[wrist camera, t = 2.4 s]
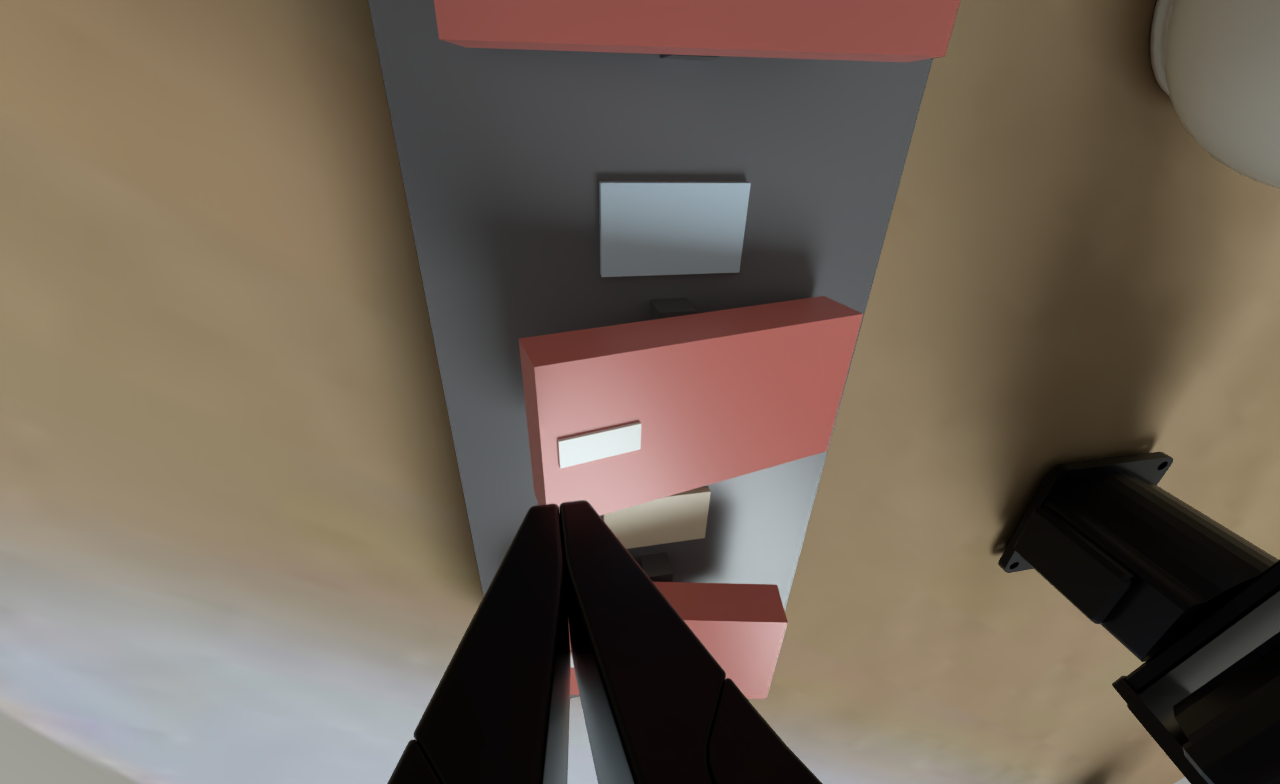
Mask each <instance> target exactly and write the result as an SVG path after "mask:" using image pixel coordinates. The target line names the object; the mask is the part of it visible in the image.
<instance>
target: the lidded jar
mask: <svg viewBox="0 0 1280 784" xmlns="http://www.w3.org/2000/svg"><path fill="white" fill-rule="evenodd" d="M1150 56H1151V66H1152V69H1153V72H1154V76H1155V79H1156V81H1157V82H1158V84H1159V86H1160V88H1161V89H1162V90H1163V91H1164V92H1165V93H1166V94H1167V95H1168V96H1169V97H1170V98H1171V101H1172V105H1173V107H1174V109H1175V111H1176V113H1177V115H1178V117H1179V119H1180V120H1181V122H1182V124H1183V125H1184V127H1185V129H1186V131H1187V132H1188V134H1189V135H1190V136H1191V137H1192V138H1193V139H1194V140H1195V141H1196V142H1197V143H1198V144H1199V145H1200V146H1201V147H1202V148H1203V149H1204V150H1205V151H1207V152H1208V153H1209V154H1210V155H1211V156H1212V157H1213V158H1214V159H1216V160H1217V161H1219V162H1221V163H1222V164H1224V165H1226V166H1227V167H1229V168H1231V169H1232V170H1234V171H1236V172H1237V173H1240V174H1242V175H1244V176H1246V177H1248V178H1250V179H1253V180H1255V181H1258V182H1261V183H1263V184H1266V185H1269V186H1272V187H1274V188H1277V189H1280V0H1157V3H1156V6H1155V10H1154V15H1153V21H1152V26H1151V35H1150Z"/></svg>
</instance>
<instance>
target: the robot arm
mask: <svg viewBox="0 0 1280 784" xmlns="http://www.w3.org/2000/svg"><path fill="white" fill-rule="evenodd" d="M1172 462H1173V458H1172V457H1170V456H1168V455H1166V454H1164V453H1163V452H1155V453H1147V454H1139V455H1131V456H1123V457H1116V458H1108V459H1100V460H1092V461H1084V462H1076V463H1069V464H1061V465H1058V466H1056V467H1054V468H1053V469H1052V470H1050V471H1049V473H1048V474H1047V476H1046V478H1045V479H1044V481H1043V483H1042V485H1041V487H1040V488H1039V490H1038V492H1037V494H1036V496H1035V497H1034V499H1033V501H1032V503H1031V505H1030V506H1029V508H1028V510H1027V512H1026V514H1025V515H1024V517H1023V519H1022V521H1021V522H1020V524H1019V526H1018V528H1017V530H1016V531H1015V533H1014V535H1013V537H1012V539H1011V540H1010V542H1009V544H1008V546H1007V548H1006V549H1005V551H1004V553H1003V555H1002V557H1001V558H1000V560H999V563H998V564H999V566H1000V567H1001V568H1002V569H1003V570H1004V571H1005V572H1007V573H1011V572H1017V571H1022V570H1028V569H1035V570H1036V571H1037V572H1038V573H1039V574H1041V575H1042V576H1043V577H1044V578H1045V579H1046V580H1047V581H1048V582H1049V583H1050V584H1051V585H1053V586H1054V587H1055V588H1056V589H1057V590H1058V591H1059V592H1060V593H1061V594H1062V595H1063V596H1065V597H1066V598H1067V599H1068V600H1069V601H1070V602H1071V603H1072V604H1073V605H1074V606H1076V607H1077V608H1078V609H1079V610H1080V611H1081V612H1082V613H1083V614H1084V615H1085V616H1086V617H1088V618H1089V619H1090V620H1091V621H1092V622H1094V623H1096V624H1101V625H1102V626H1103V627H1104V628H1105V629H1106V630H1108V631H1109V632H1110V633H1111V634H1112V635H1113V636H1114V637H1115V638H1116V639H1117V640H1119V641H1120V642H1121V643H1122V644H1123V645H1124V646H1125V647H1126V648H1127V649H1128V650H1130V651H1131V652H1132V653H1133V654H1134V655H1135V656H1136V657H1137V658H1138V659H1140V660H1141V661H1142V662H1145V661H1146V662H1145V663H1144V664H1142V665H1141V666H1140V667H1138V668H1137V669H1136V670H1135V671H1133V672H1132V673H1131V674H1129V675H1128V676H1122V677H1120V678H1119V679H1118V680H1116V681H1115V682H1114V683H1112V685H1113V687H1114V688H1115V689H1116V691H1117V692H1118V693H1119V694H1120V695H1121V697H1122V698H1123V699H1124V700H1125V701H1126V703H1127V707H1128V708H1129V709H1130V711H1131V712H1132V713H1133V714H1134V715H1135V717H1136V718H1137V719H1138V720H1139V722H1140V723H1141V724H1142V725H1143V726H1144V728H1145V729H1146V730H1147V731H1148V732H1149V734H1150V735H1151V736H1152V737H1153V738H1154V740H1155V741H1156V742H1157V743H1158V744H1159V746H1160V747H1161V748H1162V749H1163V750H1164V752H1165V753H1166V754H1167V755H1168V757H1169V758H1170V759H1171V760H1172V761H1173V763H1174V764H1175V765H1176V766H1177V767H1178V769H1179V770H1180V771H1181V772H1182V773H1183V775H1184V776H1185V777H1186V778H1187V779H1188V781H1189V782H1190V783H1191V784H1280V560H1278V559H1277V558H1275V557H1273V556H1272V555H1270V554H1268V553H1267V552H1265V551H1263V550H1262V549H1260V548H1258V547H1257V546H1255V545H1254V544H1252V543H1250V542H1249V541H1247V540H1245V539H1244V538H1242V537H1240V536H1239V535H1237V534H1235V533H1234V532H1232V531H1231V530H1229V529H1227V528H1226V527H1224V526H1222V525H1221V524H1219V523H1217V522H1216V521H1214V520H1212V519H1211V518H1209V517H1208V516H1206V515H1204V514H1203V513H1201V512H1199V511H1198V510H1196V509H1194V508H1193V507H1191V506H1189V505H1188V504H1186V503H1185V502H1183V501H1181V500H1180V499H1178V498H1176V497H1175V496H1173V495H1171V494H1170V493H1168V492H1166V491H1165V490H1163V489H1162V488H1160V487H1158V486H1157V484H1158V483H1159V481H1160V480H1161V478H1162V477H1163V476H1164V474H1165V473H1166V471H1167V470H1168V468H1169V467H1170V466H1171V464H1172ZM559 511H560V513H559ZM569 633H570V637H569ZM570 643H571V652H572V659H573V664H574V670H575V675H576V680H577V685H578V689H579V694H580V699H581V704H582V708H583V713H584V718H585V723H586V727H587V732H588V737H589V742H590V746H591V751H592V756H593V761H594V765H595V770H596V775H597V780H598V784H822V783H821V782H820V781H819V780H818V779H817V777H816V776H815V775H814V774H813V773H812V772H811V771H810V770H809V769H808V768H807V767H806V766H805V765H804V764H803V763H802V762H801V760H800V759H799V758H798V757H797V756H796V755H795V754H794V753H793V752H792V751H791V750H790V749H789V748H788V747H787V746H786V744H785V743H784V742H783V741H782V740H781V739H780V737H779V736H778V735H777V734H776V733H775V731H774V730H773V729H772V728H771V727H770V726H769V724H768V723H767V722H766V721H765V720H764V719H763V717H762V716H761V715H760V714H759V713H758V711H757V710H756V709H755V708H754V707H753V706H752V704H751V703H750V702H749V701H748V699H747V698H746V697H745V696H744V694H743V693H742V692H741V691H740V689H739V688H738V687H737V686H736V684H735V683H734V682H733V681H732V679H730V678H726V673H725V671H724V670H723V669H722V667H721V666H720V665H719V664H718V662H717V661H716V660H715V659H714V657H713V656H712V655H711V654H710V653H709V651H708V650H707V649H706V648H705V646H704V645H703V644H702V643H701V641H700V640H699V639H698V638H697V636H696V635H695V634H694V633H693V631H692V630H691V629H690V628H689V626H688V625H687V624H686V623H685V621H684V620H683V619H682V618H681V616H680V615H679V614H678V613H677V611H676V610H675V609H674V608H673V606H672V605H671V604H670V603H669V601H668V600H667V599H666V598H665V597H664V595H663V594H662V593H661V592H660V590H659V589H658V588H657V587H656V585H655V584H654V583H653V582H652V580H651V579H650V578H649V577H648V575H647V574H646V573H645V572H644V570H643V569H642V568H641V567H640V565H639V564H638V563H637V562H636V560H635V559H634V558H633V557H632V555H631V554H630V553H629V552H628V550H627V549H626V548H625V547H624V545H623V544H622V543H621V542H620V540H619V539H618V538H617V537H616V536H615V534H614V533H613V532H612V531H611V529H610V528H609V527H608V526H607V524H606V523H605V522H604V521H603V519H602V518H601V517H600V516H599V514H598V513H597V512H596V511H595V509H594V508H593V507H592V506H591V504H590V503H589V502H588V501H586V500H578V501H570V502H563V503H561V504H560V507H559V506H558V505H557V504H554V503H553V504H545V505H536V506H532V507H531V508H530V509H529V510H528V512H527V514H526V516H525V518H524V519H523V521H522V523H521V525H520V527H519V529H518V531H517V533H516V535H515V537H514V539H513V541H512V543H511V545H510V547H509V549H508V551H507V553H506V554H505V556H504V558H503V560H502V562H501V564H500V566H499V568H498V570H497V572H496V574H495V576H494V578H493V580H492V582H491V584H490V586H489V588H488V590H487V591H486V593H485V595H484V597H483V599H482V601H481V603H480V605H479V607H478V609H477V611H476V613H475V615H474V617H473V619H472V621H471V623H470V625H469V627H468V628H467V630H466V632H465V634H464V636H463V638H462V640H461V642H460V644H459V646H458V648H457V650H456V652H455V654H454V656H453V658H452V660H451V662H450V663H449V665H448V667H447V669H446V671H445V673H444V675H443V677H442V679H441V681H440V683H439V685H438V687H437V689H436V691H435V693H434V695H433V697H432V699H431V700H430V702H429V704H428V706H427V708H426V710H425V712H424V714H423V716H422V718H421V720H420V722H419V724H418V726H417V728H416V730H415V732H414V738H415V740H411V741H410V742H409V743H408V745H407V746H406V748H405V750H404V752H403V754H402V756H401V758H400V760H399V762H398V764H397V766H396V768H395V770H394V772H393V774H392V776H391V778H390V780H389V782H388V783H387V784H567V772H568V740H569V708H570V677H571V654H570ZM725 678H726V679H725Z"/></svg>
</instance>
